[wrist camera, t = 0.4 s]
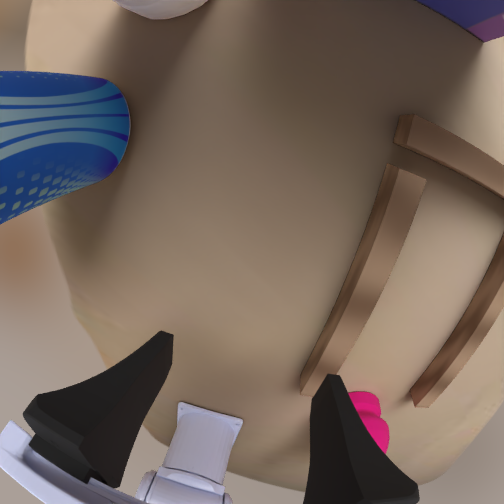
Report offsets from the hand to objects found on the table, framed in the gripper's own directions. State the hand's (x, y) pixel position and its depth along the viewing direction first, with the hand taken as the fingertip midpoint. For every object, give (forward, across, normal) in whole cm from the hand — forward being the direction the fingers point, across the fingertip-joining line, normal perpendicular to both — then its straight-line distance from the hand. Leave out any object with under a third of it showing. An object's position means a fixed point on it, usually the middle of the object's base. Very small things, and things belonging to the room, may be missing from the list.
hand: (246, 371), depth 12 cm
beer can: (+10, +16, -8) cm, 20 cm away
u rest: (+10, -13, -1) cm, 17 cm away
